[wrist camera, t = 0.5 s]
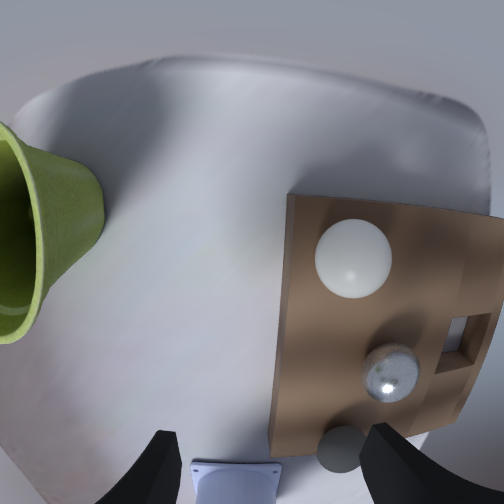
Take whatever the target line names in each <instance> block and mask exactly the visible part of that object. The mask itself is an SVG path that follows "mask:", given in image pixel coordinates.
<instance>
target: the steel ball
mask: <svg viewBox="0 0 504 504" xmlns="http://www.w3.org/2000/svg"><path fill="white" fill-rule="evenodd" d="M419 377H420V362H419V359H418V357H417V355H416V354H415V352H414V351H413V350H412V349H411V348H410V347H408V346H406V345H404V344H401V343H396V342H390V343H385V344H382V345H380V346H378V347H377V348H375V349H374V350H373V351H371V352H370V353H369V355H368V356H367V357H366V359H365V361H364V363H363V366H362V370H361V381H362V385H363V387H364V389H365V391H366V392H367V394H368V395H369V396H370V397H372V398H373V399H375V400H377V401H380V402H385V403H391V402H396V401H399V400H401V399H403V398H405V397H406V396H408V395H409V394H410V393H411V392H412V391H413V390H414V388H415V387H416V385H417V383H418V380H419Z"/></svg>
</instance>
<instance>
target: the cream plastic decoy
mask: <svg viewBox="0 0 504 504" xmlns="http://www.w3.org/2000/svg"><path fill="white" fill-rule="evenodd" d="M391 265H392V253H391V248H390V245H389V242H388V240H387V238H386V237H385V235H384V234H383V233H382V231H381V230H380V229H378V228H377V227H376V226H375V225H373V224H371V223H369V222H367V221H364V220H359V219H348V220H343V221H340V222H338V223H336V224H334V225H332V226H331V227H330V228H329V229H327V230H326V232H325V233H324V234H323V235H322V237H321V238H320V240H319V242H318V245H317V248H316V252H315V266H316V270H317V273H318V276H319V278H320V279H321V281H322V283H323V284H324V285H325V286H326V287H327V288H328V289H329V290H330V291H332V292H333V293H335V294H337V295H339V296H342V297H345V298H361V297H365V296H368V295H370V294H372V293H373V292H375V291H376V290H378V289H379V288H380V287H381V286H382V285H383V283H384V282H385V280H386V279H387V277H388V275H389V272H390V269H391Z"/></svg>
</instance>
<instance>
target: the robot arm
mask: <svg viewBox="0 0 504 504" xmlns="http://www.w3.org/2000/svg"><path fill="white" fill-rule="evenodd" d="M359 460H360V465H361V469H362V473H363V477H364V479H365V482H366V484H367V487H368V489H369V492H370V494H371V497H372V499H373V501H374V504H504V492H501V491H497V490H493V489H489V488H486V487H483V486H480V485H478V484H475V483H472V482H470V481H468V480H465V479H463V478H461V477H459V476H457V475H455V474H453V473H452V472H450V471H448V470H446V469H445V468H443V467H442V466H440V465H439V464H437V463H436V462H434V461H433V460H431V459H430V458H428V457H427V456H426V455H425V454H423V453H422V452H421V451H419V450H418V449H417V448H416V447H414V446H413V445H412V444H411V443H410V442H408V441H407V440H406V439H405V438H404V437H402V436H401V435H400V434H399V433H398V432H397V431H396V430H394V429H393V428H392V427H391V426H390V425H389V424H387V423H386V422H384V423H378V424H373V425H372V426H371V428H370V431H369V433H368V436H367V438H366V440H365V443H364V445H363V448H362V450H361V452H360V454H359ZM181 468H182V461H181V457H180V452H179V447H178V442H177V437H176V432H172V431H163V430H158V431H157V432H156V433H155V435H154V437H153V438H152V440H151V441H150V443H149V444H148V446H147V447H146V448H145V450H144V451H143V453H142V454H141V455H140V457H139V458H138V459H137V460H136V462H135V463H134V464H133V465H132V467H131V468H130V469H129V470H128V472H127V473H126V474H125V475H124V476H123V477H122V478H121V479H120V480H119V481H118V483H117V484H116V485H115V486H114V487H113V488H112V489H111V490H110V491H109V492H108V493H106V494H105V495H104V496H103V497H102V498H101V499H100V500H98V501H97V502H96V503H95V504H176V500H177V496H178V491H179V487H180V479H181ZM190 470H191V475H192V480H193V485H194V489H195V494H196V504H276V500H275V497H276V493H277V489H278V484H279V479H280V475H281V470H282V467H281V465H280V464H277V463H275V464H219V463H202V462H192V463H190Z"/></svg>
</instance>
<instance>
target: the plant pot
mask: <svg viewBox="0 0 504 504" xmlns="http://www.w3.org/2000/svg"><path fill="white" fill-rule="evenodd" d="M104 220H105V216H104V204H103V192H102V188H101V186H100V184H99V182H98V180H97V178H96V177H95V175H94V174H93V173H92V172H91V171H90V170H89V169H88V168H87V167H86V166H84V165H82V164H80V163H78V162H75V161H72V160H69V159H67V158H64V157H60V156H57V155H54V154H52V153H49V152H46V151H43V150H40V149H37V148H34V147H31V146H28V145H26V144H25V143H24V142H23V141H22V140H20V139H19V138H18V137H17V135H16V134H15V133H14V132H13V131H12V130H11V129H10V128H9V127H8V126H6V125H5V124H3V123H2V122H0V344H9V343H12V342H15V341H17V340H19V339H20V338H22V337H23V336H24V335H25V334H26V333H27V332H28V331H29V330H30V329H31V327H32V326H33V324H34V323H35V321H36V319H37V316H38V314H39V312H40V309H41V306H42V303H43V300H44V299H45V297H46V295H47V293H48V291H49V288H50V287H51V286H52V285H53V284H54V283H55V282H56V281H57V280H58V279H59V278H60V277H61V276H62V275H63V274H64V273H65V272H66V271H67V270H68V269H69V268H70V267H71V266H72V265H73V264H74V263H75V262H77V261H78V260H79V259H80V258H81V257H82V256H83V255H84V254H85V253H86V252H88V251H89V250H90V249H91V248H92V247H93V246H94V244H95V243H96V242H97V240H98V238H99V236H100V234H101V232H102V229H103V225H104Z"/></svg>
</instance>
